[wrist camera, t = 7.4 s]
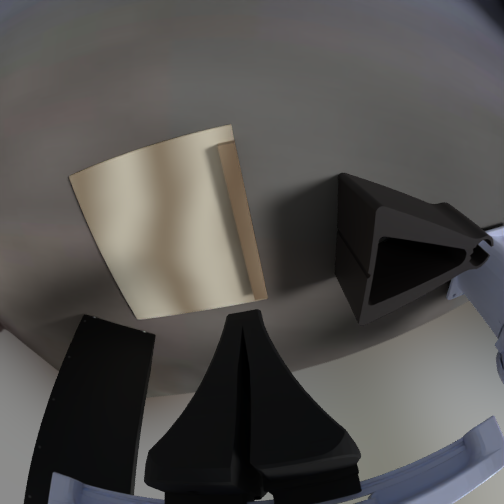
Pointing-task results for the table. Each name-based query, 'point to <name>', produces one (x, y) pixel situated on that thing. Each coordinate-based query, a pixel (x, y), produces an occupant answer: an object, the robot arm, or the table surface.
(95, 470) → the tissue box
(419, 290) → the dark grey open container
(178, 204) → the book stand
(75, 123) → the table surface
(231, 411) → the robot arm
